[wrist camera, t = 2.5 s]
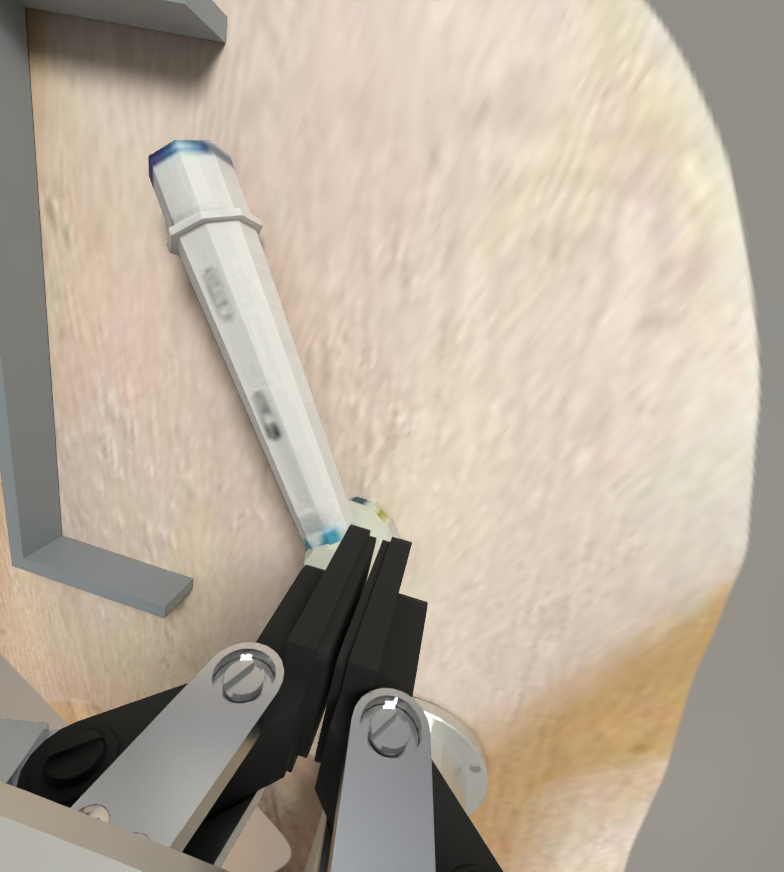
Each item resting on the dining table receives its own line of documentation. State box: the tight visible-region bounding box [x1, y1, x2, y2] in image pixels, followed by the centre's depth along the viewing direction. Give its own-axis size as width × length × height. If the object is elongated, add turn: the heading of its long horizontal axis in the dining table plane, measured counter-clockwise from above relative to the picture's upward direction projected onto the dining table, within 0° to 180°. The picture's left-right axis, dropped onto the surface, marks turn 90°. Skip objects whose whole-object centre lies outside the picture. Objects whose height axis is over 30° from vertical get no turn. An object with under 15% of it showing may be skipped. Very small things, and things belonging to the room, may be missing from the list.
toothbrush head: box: [149, 140, 399, 579], centre depth 23 cm, size 5×7×25 cm
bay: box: [0, 0, 227, 618], centre depth 25 cm, size 34×12×3 cm, turn 168°
